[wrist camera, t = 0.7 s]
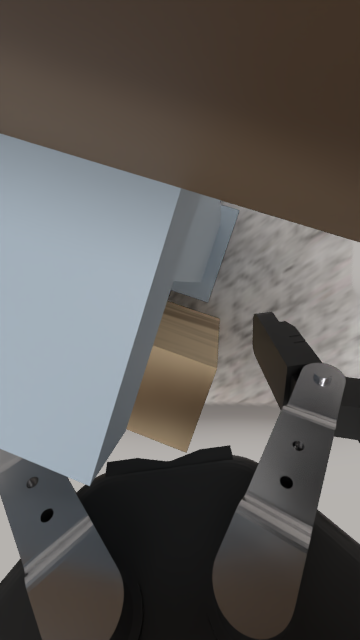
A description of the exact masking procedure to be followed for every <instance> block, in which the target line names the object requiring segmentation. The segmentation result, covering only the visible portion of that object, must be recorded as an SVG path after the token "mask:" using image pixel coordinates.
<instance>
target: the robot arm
mask: <svg viewBox="0 0 360 640" xmlns="http://www.w3.org/2000/svg"><path fill="white" fill-rule="evenodd" d="M253 350H254V354H255V357H256V359H257V361H258V363H259V365H260V367H261V369H262V371H263V373H264V376H265V378H266V380H267V382H268V384H269V386H270V388H271V390H272V393H273V395H274V397H275V399H276V401H277V403H278V405H279V407H280V409H281V412H280V414H279V417H278V419H277V421H276V424H275V426H274V429H273V431H272V433H271V435H270V438H269V440H268V443H267V445H266V447H265V450H264V452H263V454H262V457H261V460H260V461H259V463H257V462H254V461H253V460H250V459H248V458H244V457H240V456H235V455H232V452H231V448H230V446H222V447H215V448H208V449H200V450H198V451H195V452H193V453H191V454H187V455H185V456H183V457H180V458H177V459H175V460H172V461H157V460H149V459H140V458H136V459H128V460H120V461H113V462H107V468H106V473H105V474H102V475H100V476H98V477H96V478H95V479H94V480H93V482H92V483H91V485H90V486H88V485H85V486H83V487H82V488H81V489H80V490H79V491H78V492H77V493H76V491H75V490H74V488H73V486H72V484H71V483H70V481H69V479H68V477H67V476H64V475H62V474H60V473H57V472H55V471H52V470H50V469H48V468H45V467H43V466H40V465H38V464H36V463H33V462H31V461H28V460H26V459H24V458H21V457H19V456H17V455H14V454H12V453H9V452H7V451H5V450H2V449H0V495H1V498H2V502H3V505H4V508H5V510H6V514H7V517H8V520H9V523H10V526H11V530H12V532H13V535H14V539H15V542H16V545H17V548H18V551H19V554H20V557H21V559H20V560H19V561H18V562H17V564H16V565H15V566H14V567H13V569H12V570H11V571H10V572H9V573H8V574H7V576H6V577H5V578H4V579H3V580H2V581H1V583H0V640H360V544H359V543H357V542H356V541H355V540H354V539H353V538H351V537H350V536H349V535H348V534H347V533H345V532H344V531H343V530H341V529H340V528H339V527H338V526H337V525H336V524H334V523H333V522H332V521H331V520H329V519H328V518H327V517H326V516H325V515H323V514H322V513H321V512H320V511H318V510H317V507H318V502H319V498H320V494H321V489H322V485H323V480H324V476H325V472H326V467H327V463H328V459H329V454H330V450H331V446H332V441H333V437H334V436H335V437H341V438H349V439H355V440H358V441H359V443H360V379H357V378H349V377H345V376H344V375H343V373H342V372H341V371H340V370H338V369H337V368H335V367H334V366H331V365H328V364H324V363H322V362H321V360H320V359H319V358H318V357H317V355H316V354H315V353H314V351H313V350H312V349H311V347H310V346H309V345H308V343H307V342H305V339H304V338H303V337H302V336H301V334H300V333H299V332H298V330H297V329H296V328H295V327H294V326H292V325H291V324H289V323H287V322H286V321H283V322H279V321H278V319H277V318H276V317H275V315H274V314H273V313H272V312H266V313H259V314H254V317H253Z"/></svg>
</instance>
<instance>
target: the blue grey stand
mask: <svg viewBox="0 0 360 640" xmlns="http://www.w3.org/2000/svg"><path fill="white" fill-rule="evenodd" d="M238 214H239V210H237V209H233V208H230V207H227V206H224V205H221V200H218V199H215V198H212V197H209V196H205V195H202V194H199V193H195V192H192V191H189V190H185V189H182V188H179V187H176V186H172V185H169V184H166V183H162V182H159V181H156V180H152V179H149V178H146V177H142V176H139V175H136V174H133V173H129V172H126V171H123V170H119V169H116V168H113V167H109V166H106V165H103V164H100V163H96V162H93V161H90V160H86V159H83V158H80V157H76V156H73V155H70V154H66V153H63V152H60V151H57V150H53V149H50V148H47V147H43V146H40V145H37V144H33V143H30V142H27V141H24V140H20V139H17V138H14V137H10V136H7V135H4V134H0V449H2V450H5V451H7V452H9V453H12V454H14V455H17V456H19V457H21V458H24V459H26V460H28V461H31V462H33V463H36V464H38V465H40V466H43V467H45V468H48V469H50V470H52V471H55V472H57V473H60V474H62V475H64V476H67V477H69V478H71V479H74V480H76V481H79V482H81V483H83V484H86V485H88V486H90V485H91V483H92V482H93V480H94V479H95V477H96V475H97V474H98V473H99V471H100V470H101V468H102V466H103V465H104V463H105V462H106V460H107V459H108V457H109V456H110V454H111V453H112V451H113V449H114V448H115V446H116V445H117V443H118V441H119V440H120V439H121V437H122V436H123V434H124V433H125V431H126V428H127V425H128V422H129V419H130V416H131V413H132V409H133V406H134V403H135V400H136V397H137V394H138V391H139V388H140V384H141V381H142V378H143V375H144V372H145V369H146V366H147V362H148V359H149V356H150V353H151V350H152V347H153V344H154V341H155V337H156V334H157V331H158V328H159V325H160V322H161V319H162V316H163V312H164V309H165V306H166V303H167V300H168V297H169V294H170V290H172V291H175V292H178V293H181V294H184V295H187V296H190V297H193V298H196V299H199V300H202V301H205V302H208V301H209V298H210V295H211V292H212V289H213V286H214V283H215V280H216V277H217V275H218V272H219V269H220V266H221V263H222V260H223V257H224V254H225V251H226V248H227V245H228V243H229V240H230V237H231V234H232V231H233V228H234V225H235V222H236V219H237V216H238Z"/></svg>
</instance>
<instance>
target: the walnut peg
mask: <svg viewBox="0 0 360 640" xmlns="http://www.w3.org/2000/svg"><path fill="white" fill-rule="evenodd" d="M0 134H4V135H7V136H10V137H14V138H17V139H20V140H24V141H27V142H30V143H33V144H37V145H40V146H43V147H47V148H50V149H53V150H57V151H60V152H63V153H66V154H70V155H73V156H76V157H80V158H83V159H86V160H90V161H93V162H96V163H100V164H103V165H106V166H109V167H113V168H116V169H119V170H123V171H126V172H129V173H133V174H136V175H139V176H142V177H146V178H149V179H152V180H156V181H159V182H162V183H166V184H169V185H172V186H176V187H179V188H182V189H185V190H189V191H192V192H195V193H199V194H202V195H205V196H209V197H212V198H215V199H218V200H222V201H225V202H228V203H232V204H235V205H238V206H242V207H245V208H248V209H251V210H255V211H258V212H261V213H265V214H268V215H271V216H275V217H278V218H281V219H285V220H288V221H291V222H294V223H298V224H301V225H304V226H308V227H311V228H314V229H318V230H321V231H324V232H327V233H331V234H334V235H337V236H341V237H344V238H347V239H351V240H354V241H357V242H360V0H0Z"/></svg>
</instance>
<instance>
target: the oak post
mask: <svg viewBox="0 0 360 640" xmlns="http://www.w3.org/2000/svg"><path fill="white" fill-rule="evenodd" d="M218 340H219V318H216V317H213V316H210V315H207V314H204V313H201V312H198V311H195V310H192V309H190V308H187V307H184V306H181V305H178V304H175V303H172V302H169V301H167V303H166V306H165V309H164V312H163V316H162V319H161V322H160V325H159V328H158V331H157V334H156V337H155V341H154V344H153V347H152V350H151V353H150V356H149V359H148V362H147V366H146V369H145V372H144V375H143V378H142V381H141V384H140V388H139V391H138V394H137V397H136V400H135V403H134V406H133V409H132V413H131V416H130V419H129V422H128V425H127V428H126V429H127V430H130V431H132V432H135V433H137V434H140V435H142V436H145V437H148V438H150V439H153V440H155V441H158V442H160V443H163V444H165V445H168V446H170V447H173V448H176V449H178V450H181V451H183V452H187V450H188V447H189V444H190V441H191V439H192V436H193V433H194V430H195V428H196V425H197V422H198V420H199V417H200V414H201V411H202V408H203V406H204V403H205V400H206V398H207V395H208V392H209V389H210V387H211V384H212V381H213V378H214V376H215V373H216V370H217V360H218Z"/></svg>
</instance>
